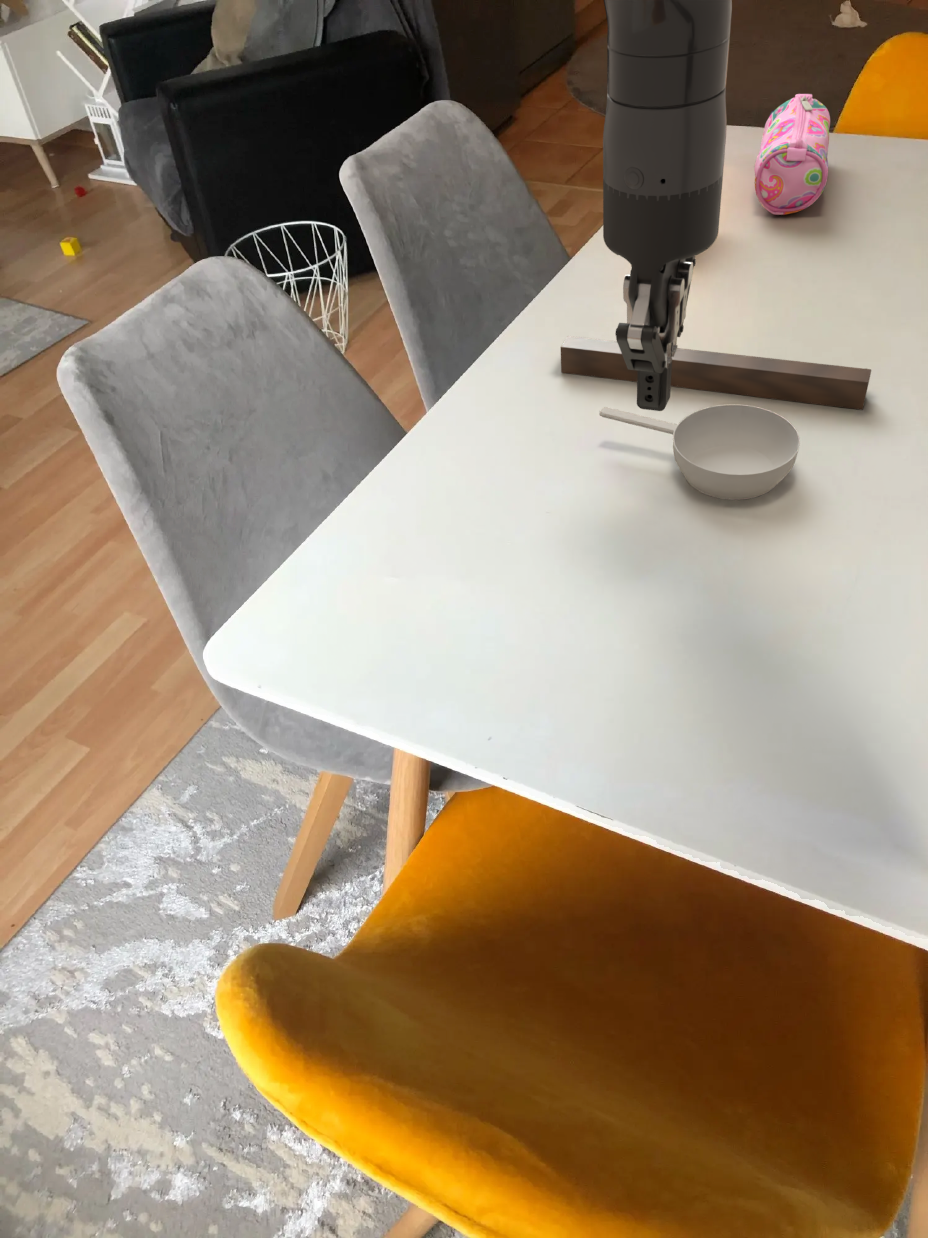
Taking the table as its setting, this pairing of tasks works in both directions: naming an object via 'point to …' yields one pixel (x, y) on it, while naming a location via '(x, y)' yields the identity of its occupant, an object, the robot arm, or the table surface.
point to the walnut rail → (728, 373)
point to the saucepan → (727, 448)
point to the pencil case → (793, 156)
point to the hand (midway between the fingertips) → (653, 404)
